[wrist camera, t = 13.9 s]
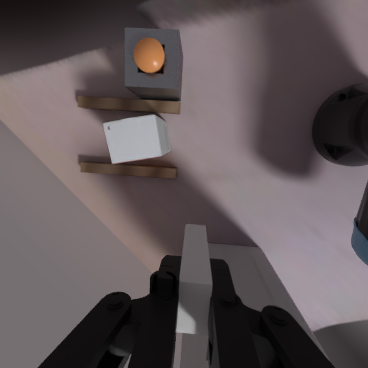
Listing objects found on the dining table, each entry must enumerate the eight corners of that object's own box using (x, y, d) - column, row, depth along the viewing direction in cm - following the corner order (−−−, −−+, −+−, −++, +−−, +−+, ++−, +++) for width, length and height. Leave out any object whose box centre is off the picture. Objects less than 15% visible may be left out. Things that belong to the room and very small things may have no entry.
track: (180, 103, 42) (179, 101, 40) (176, 177, 45) (175, 178, 43) (83, 98, 42) (77, 95, 40) (85, 170, 46) (80, 171, 44)
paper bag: (284, 283, 49) (398, 467, 21) (229, 311, 51) (269, 509, 24) (241, 219, 46) (309, 335, 19) (186, 251, 48) (174, 397, 21)
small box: (134, 157, 44) (110, 164, 32) (128, 127, 43) (100, 122, 30) (172, 151, 44) (162, 156, 31) (166, 121, 42) (154, 112, 30)
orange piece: (170, 57, 36) (164, 38, 29) (169, 84, 37) (163, 72, 30) (145, 56, 36) (133, 36, 29) (144, 83, 37) (133, 70, 30)
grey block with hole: (183, 56, 40) (179, 29, 30) (180, 100, 41) (176, 88, 32) (141, 54, 40) (124, 27, 30) (141, 98, 42) (124, 86, 32)
